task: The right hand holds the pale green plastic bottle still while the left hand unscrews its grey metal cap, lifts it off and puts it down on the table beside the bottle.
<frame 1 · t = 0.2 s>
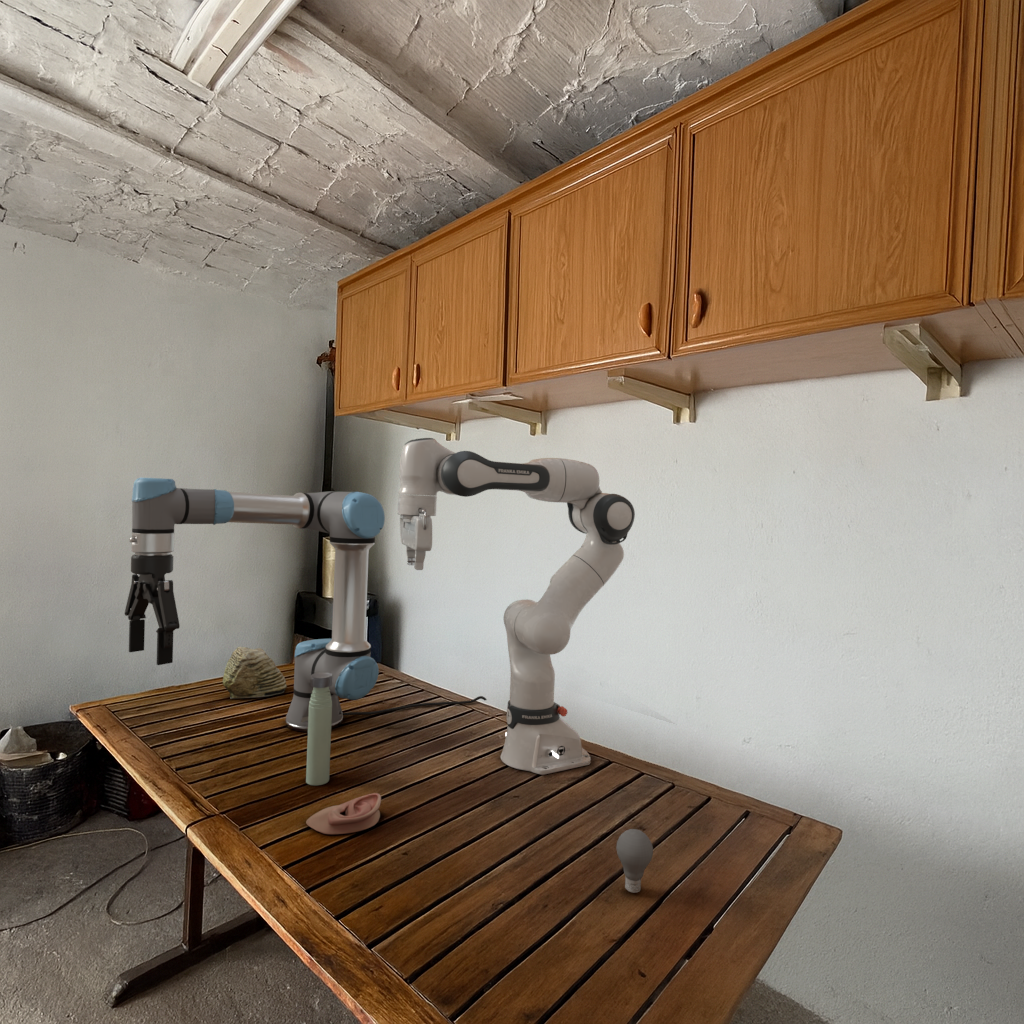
left hand: (150, 657, 129), 29 cm above the table, tool pointing down, fingers open, 13 cm apart
right hand: (414, 567, 147), 48 cm above the table, tool pointing down, fingers open, 8 cm apart
light bulb: (632, 891, 106), on the table
bottle: (317, 780, 141), on the table
fossil: (254, 694, 198), on the table
cap: (321, 676, 141), point 23 cm above the table, screwed on, not yet turned
anatomical model: (344, 821, 124), on the table
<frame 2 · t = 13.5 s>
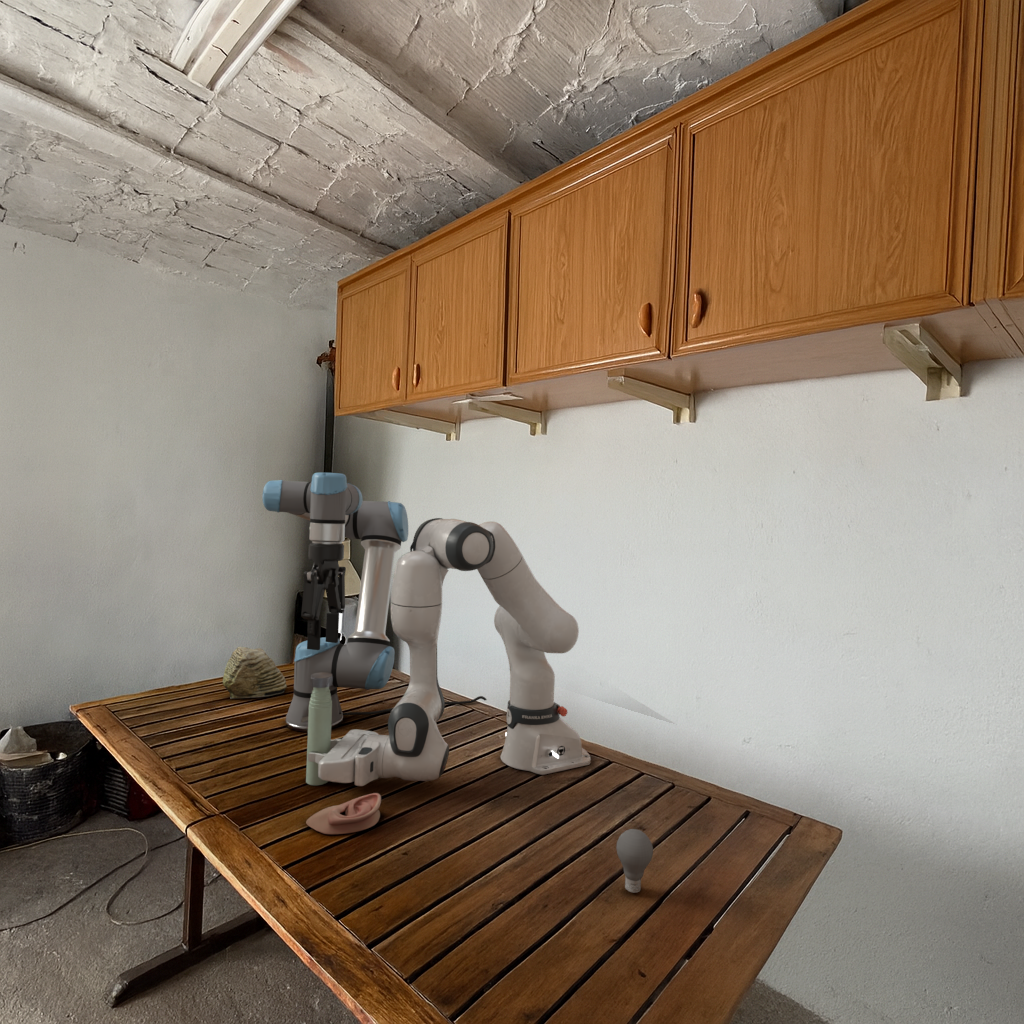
left hand: (322, 645, 141), 30 cm above the table, tool pointing down, fingers open, 7 cm apart
right hand: (314, 750, 141), 7 cm above the table, tool horizontal, fingers closed on bottle, 5 cm apart
bottle: (317, 780, 141), on the table, touching right hand
everything else where it was.
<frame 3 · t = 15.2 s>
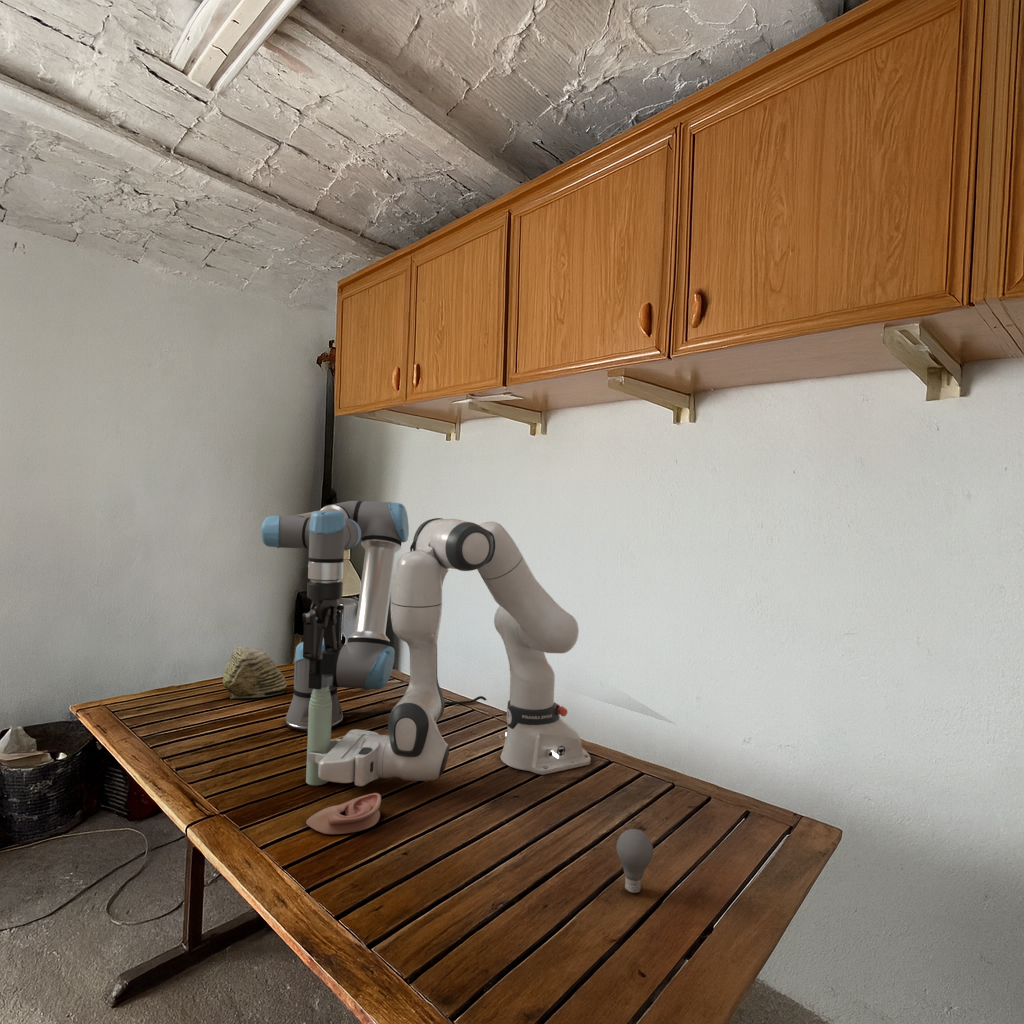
left hand: (321, 684, 141), 21 cm above the table, tool pointing down, fingers closed on cap, 4 cm apart
right hand: (314, 750, 141), 7 cm above the table, tool horizontal, fingers closed on bottle, 5 cm apart
bottle: (317, 780, 141), on the table, touching right hand
cap: (321, 676, 141), point 23 cm above the table, screwed on, not yet turned, touching left hand
everything else where it was.
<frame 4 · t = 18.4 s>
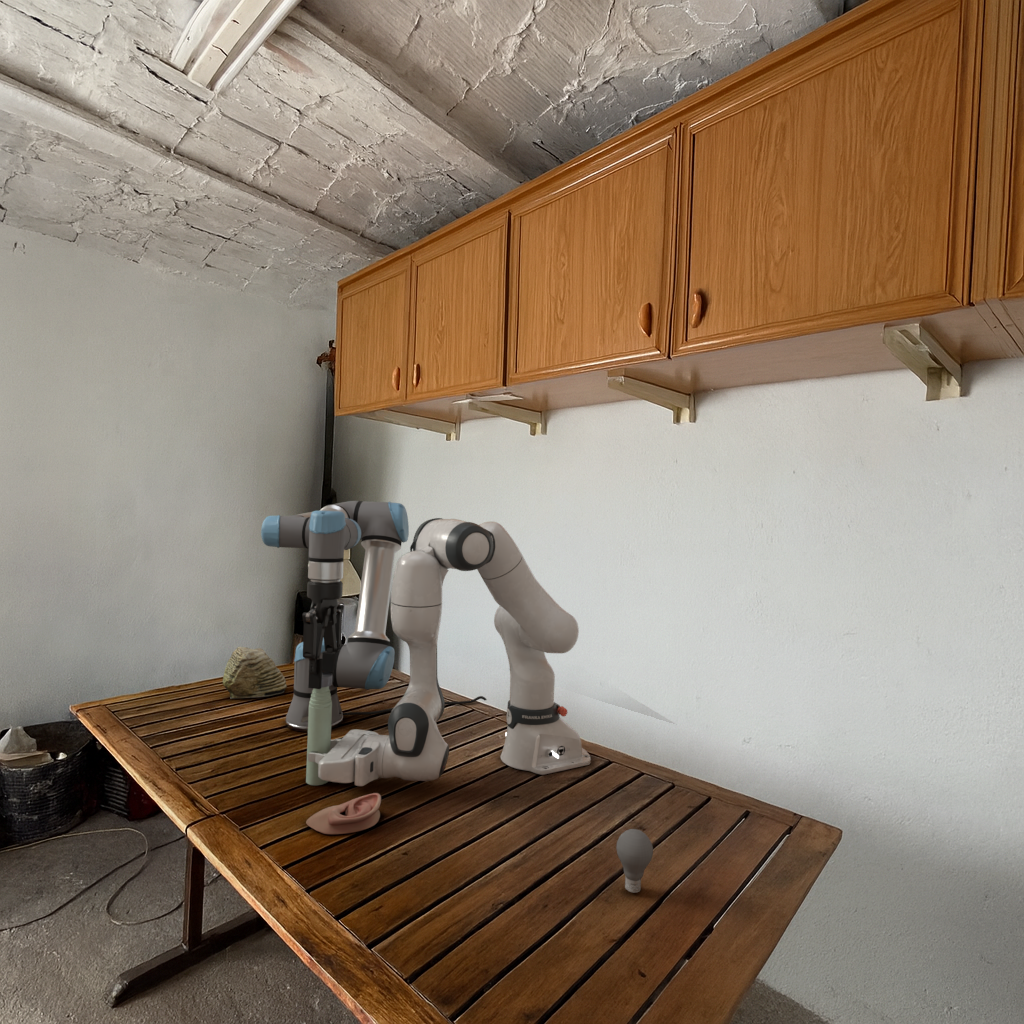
left hand: (321, 684, 141), 22 cm above the table, tool pointing down, fingers closed on cap, 4 cm apart
right hand: (314, 750, 141), 7 cm above the table, tool horizontal, fingers closed on bottle, 5 cm apart
bottle: (317, 780, 141), on the table, touching right hand
cap: (321, 676, 141), point 23 cm above the table, turned 93° so far, risen 0.1 cm, still on its thread, touching left hand
everything else where it was.
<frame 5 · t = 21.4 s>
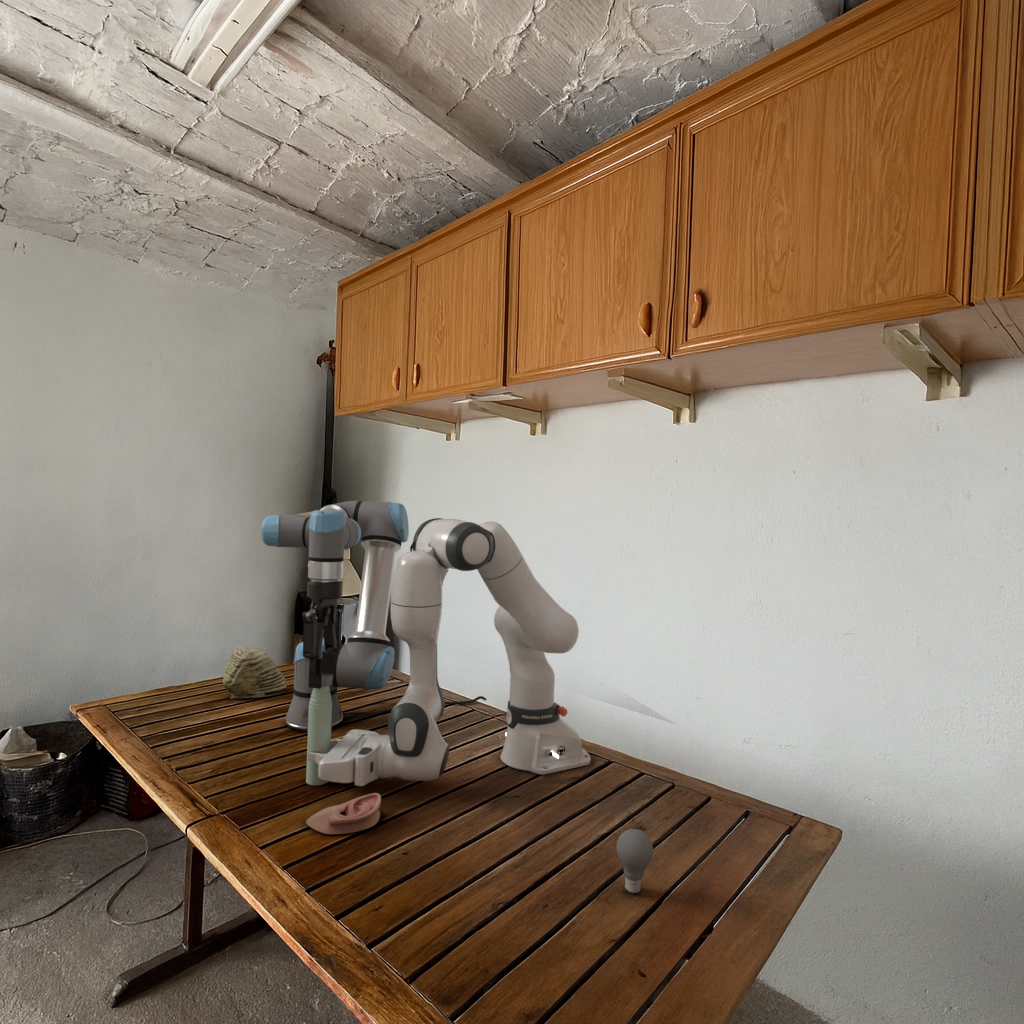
left hand: (321, 684, 141), 22 cm above the table, tool pointing down, fingers closed on cap, 4 cm apart
right hand: (314, 750, 141), 7 cm above the table, tool horizontal, fingers closed on bottle, 5 cm apart
bottle: (317, 780, 141), on the table, touching right hand
cap: (321, 675, 141), point 24 cm above the table, turned 185° so far, risen 0.2 cm, still on its thread, touching left hand
everything else where it was.
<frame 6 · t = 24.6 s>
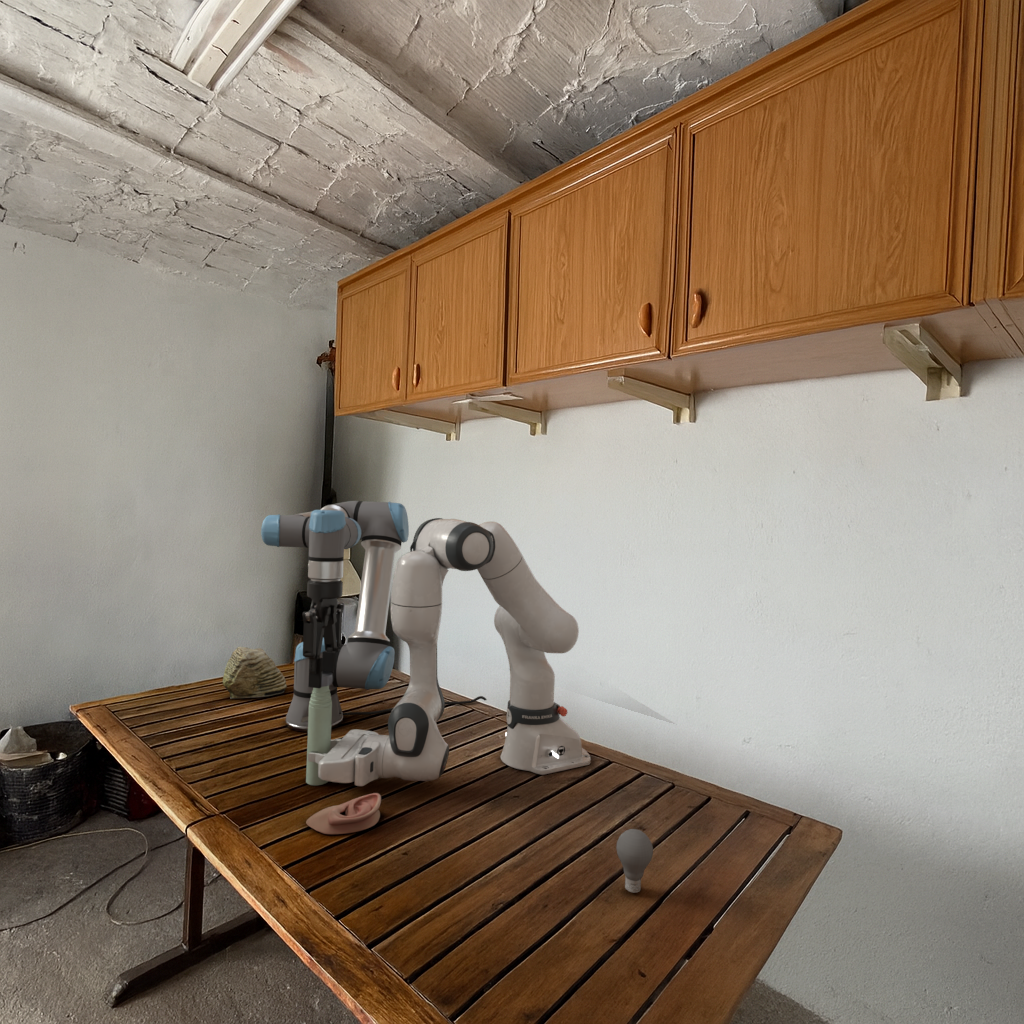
left hand: (321, 683, 141), 22 cm above the table, tool pointing down, fingers closed on cap, 4 cm apart
right hand: (314, 750, 141), 7 cm above the table, tool horizontal, fingers closed on bottle, 5 cm apart
bottle: (317, 780, 141), on the table, touching right hand
cap: (321, 675, 141), point 24 cm above the table, turned 278° so far, risen 0.2 cm, still on its thread, touching left hand
everything else where it was.
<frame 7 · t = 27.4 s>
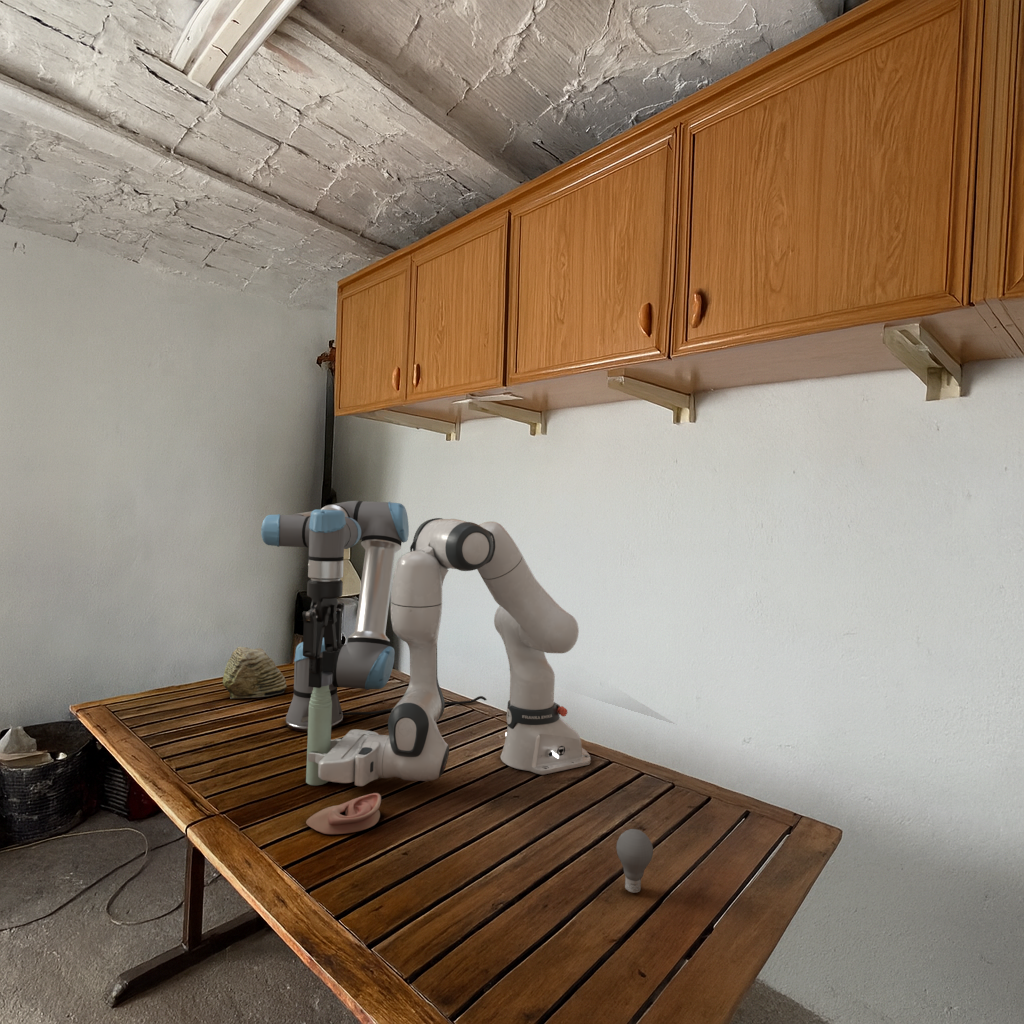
left hand: (321, 683, 141), 22 cm above the table, tool pointing down, fingers closed on cap, 4 cm apart
right hand: (314, 750, 141), 7 cm above the table, tool horizontal, fingers closed on bottle, 5 cm apart
bottle: (317, 780, 141), on the table, touching right hand
cap: (321, 675, 141), point 24 cm above the table, turned 370° so far, risen 0.3 cm, still on its thread, touching left hand
everything else where it was.
when the left hand's fingers open (1 cm above the table, at t = 34.7 s): cap drops 1 cm, point 2 cm above the table.
when the right hand's fingers open (7 cm above the table, at t = 35.9 s): bottle stays where it is, on the table.
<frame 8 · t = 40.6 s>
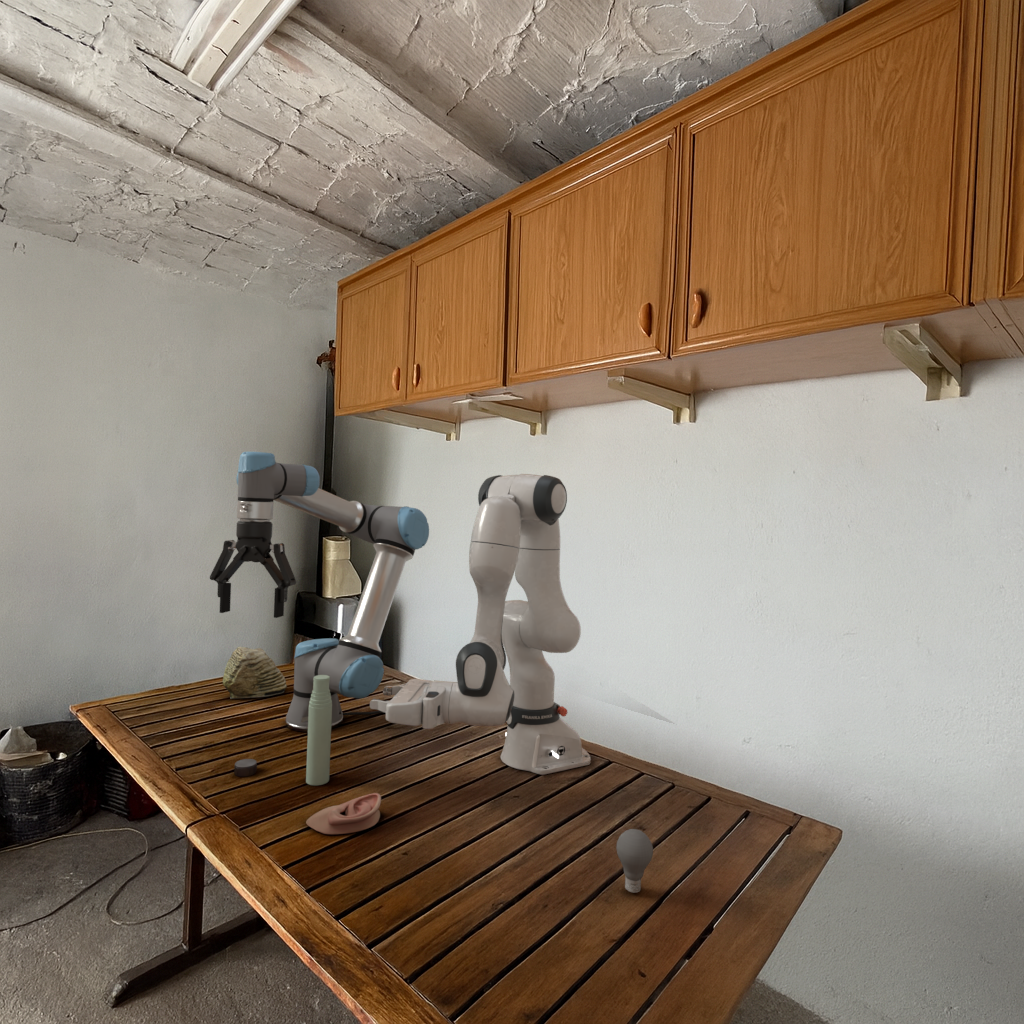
left hand: (251, 614, 143), 36 cm above the table, tool pointing down, fingers open, 13 cm apart
right hand: (377, 696, 139), 20 cm above the table, tool horizontal, fingers open, 8 cm apart
bottle: (317, 780, 141), on the table
cap: (245, 764, 144), point 2 cm above the table, off its thread
everything else where it was.
at the end: cap came off its thread; cap point 1.9 cm above the table; the left hand is holding nothing; the right hand is holding nothing; bottle tilted 0°; bottle moved 0.0 cm from its start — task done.
